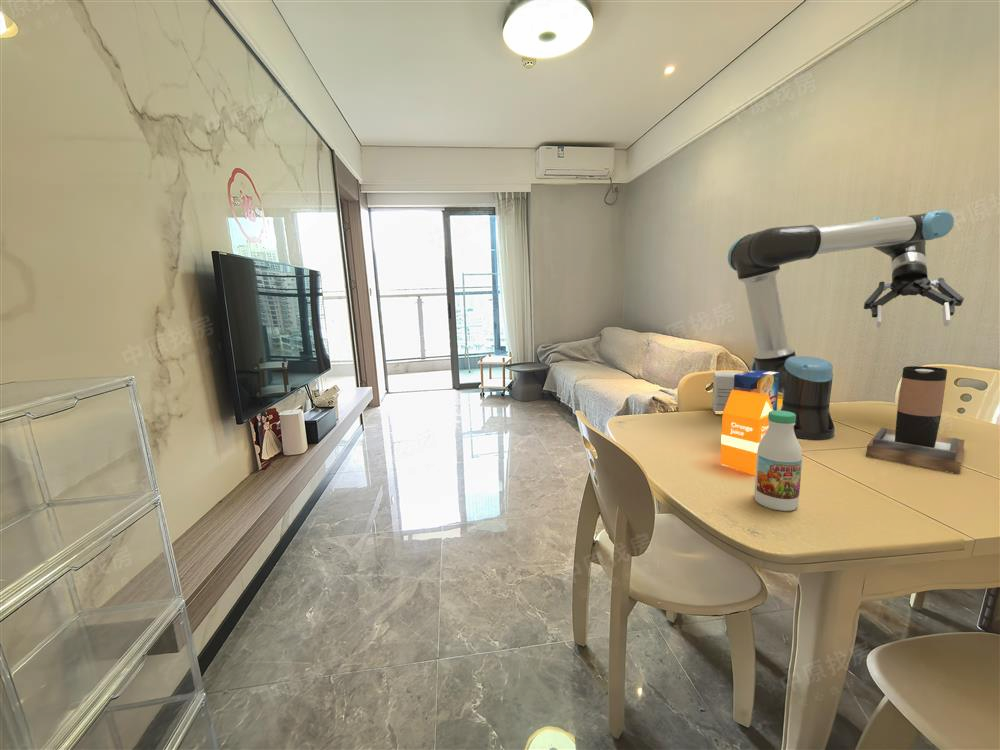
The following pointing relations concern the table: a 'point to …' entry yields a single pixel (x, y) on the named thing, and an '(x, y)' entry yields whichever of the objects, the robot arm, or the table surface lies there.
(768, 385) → the beverage box
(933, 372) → the travel mug
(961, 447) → the dock
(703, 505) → the table surface
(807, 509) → the table surface
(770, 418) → the milk bottle
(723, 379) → the supplement box
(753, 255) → the robot arm
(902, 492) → the table surface
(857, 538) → the table surface
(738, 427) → the orange juice
